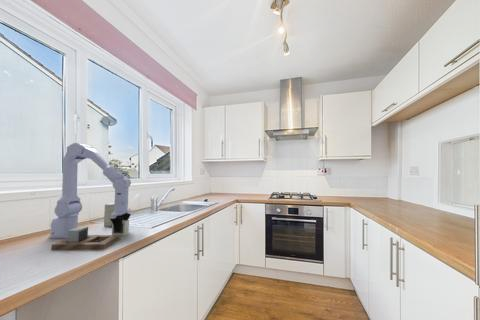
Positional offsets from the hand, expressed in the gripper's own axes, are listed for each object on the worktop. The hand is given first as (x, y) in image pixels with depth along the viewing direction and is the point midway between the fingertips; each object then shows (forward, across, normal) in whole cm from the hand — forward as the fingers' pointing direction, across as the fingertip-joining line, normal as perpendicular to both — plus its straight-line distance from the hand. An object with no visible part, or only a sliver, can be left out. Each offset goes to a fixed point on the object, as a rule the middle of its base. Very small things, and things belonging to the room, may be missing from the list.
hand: (120, 230), depth 99 cm
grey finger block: (+2, -13, +10) cm, 17 cm away
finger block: (+2, 0, 0) cm, 2 cm away
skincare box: (+2, +17, +14) cm, 22 cm away
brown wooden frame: (+2, -13, +6) cm, 14 cm away
